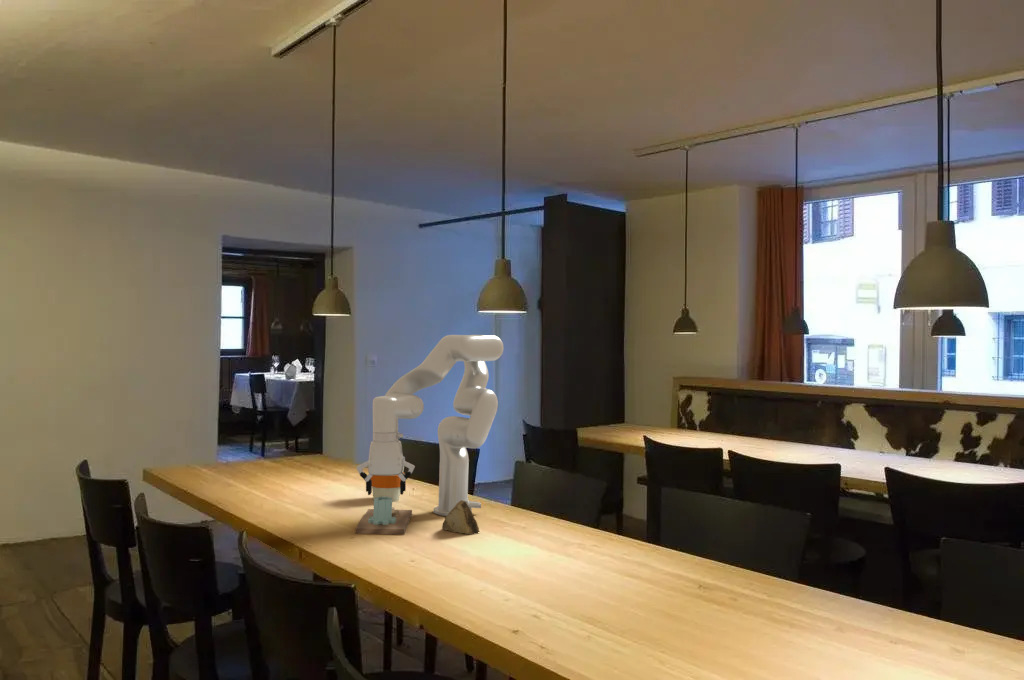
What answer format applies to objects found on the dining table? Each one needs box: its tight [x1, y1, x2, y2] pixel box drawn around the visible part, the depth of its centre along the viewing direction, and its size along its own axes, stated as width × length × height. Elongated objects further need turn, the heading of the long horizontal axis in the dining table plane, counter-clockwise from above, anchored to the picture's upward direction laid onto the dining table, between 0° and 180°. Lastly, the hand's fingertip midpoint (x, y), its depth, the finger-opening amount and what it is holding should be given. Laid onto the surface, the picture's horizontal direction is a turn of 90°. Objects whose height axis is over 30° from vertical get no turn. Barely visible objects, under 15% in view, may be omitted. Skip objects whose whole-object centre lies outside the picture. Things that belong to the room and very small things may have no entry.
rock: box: [441, 500, 481, 535], centre depth 220 cm, size 11×9×10 cm
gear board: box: [354, 506, 413, 535], centre depth 226 cm, size 14×25×7 cm, turn 3°
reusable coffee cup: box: [371, 455, 406, 503], centre depth 261 cm, size 13×12×15 cm
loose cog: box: [368, 497, 396, 525], centre depth 222 cm, size 8×8×7 cm
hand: (385, 493), depth 223 cm, fingers open, 9 cm apart
